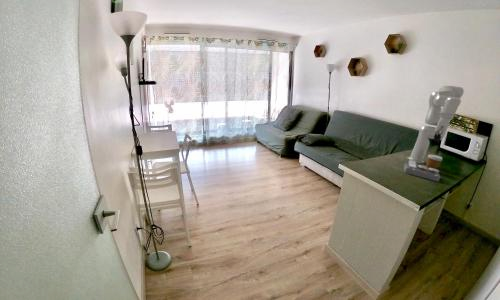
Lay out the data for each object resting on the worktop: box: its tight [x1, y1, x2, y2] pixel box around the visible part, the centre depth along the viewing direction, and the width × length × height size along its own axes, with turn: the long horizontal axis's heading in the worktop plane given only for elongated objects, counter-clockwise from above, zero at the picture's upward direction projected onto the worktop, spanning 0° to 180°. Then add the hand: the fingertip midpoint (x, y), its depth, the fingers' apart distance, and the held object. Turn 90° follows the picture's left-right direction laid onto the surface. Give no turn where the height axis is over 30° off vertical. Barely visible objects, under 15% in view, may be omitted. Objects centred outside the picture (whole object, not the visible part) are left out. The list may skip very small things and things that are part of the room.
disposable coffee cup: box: [425, 153, 443, 170], centre depth 183 cm, size 10×10×12 cm
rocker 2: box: [417, 164, 428, 169], centre depth 172 cm, size 9×4×1 cm, turn 153°
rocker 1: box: [408, 159, 417, 169], centre depth 175 cm, size 9×4×1 cm, turn 150°
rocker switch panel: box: [403, 162, 442, 182], centre depth 175 cm, size 18×21×4 cm
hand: (436, 139), depth 162 cm, fingers open, 9 cm apart
